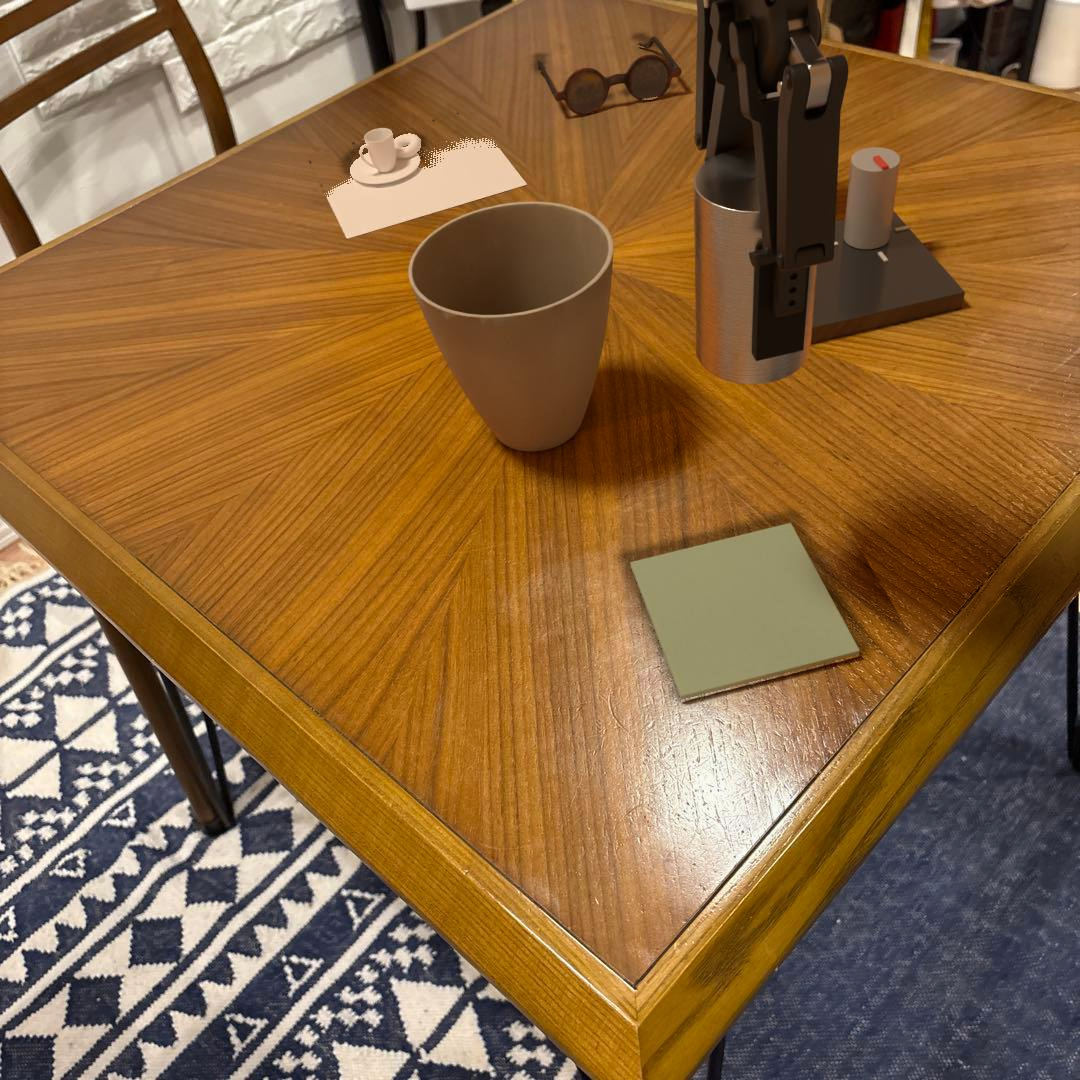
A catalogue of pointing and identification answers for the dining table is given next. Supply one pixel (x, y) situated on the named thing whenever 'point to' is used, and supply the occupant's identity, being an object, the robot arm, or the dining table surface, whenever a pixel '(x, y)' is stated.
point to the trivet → (741, 611)
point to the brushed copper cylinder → (733, 272)
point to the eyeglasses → (616, 81)
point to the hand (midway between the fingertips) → (754, 313)
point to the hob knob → (871, 197)
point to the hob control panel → (880, 285)
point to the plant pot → (519, 313)
